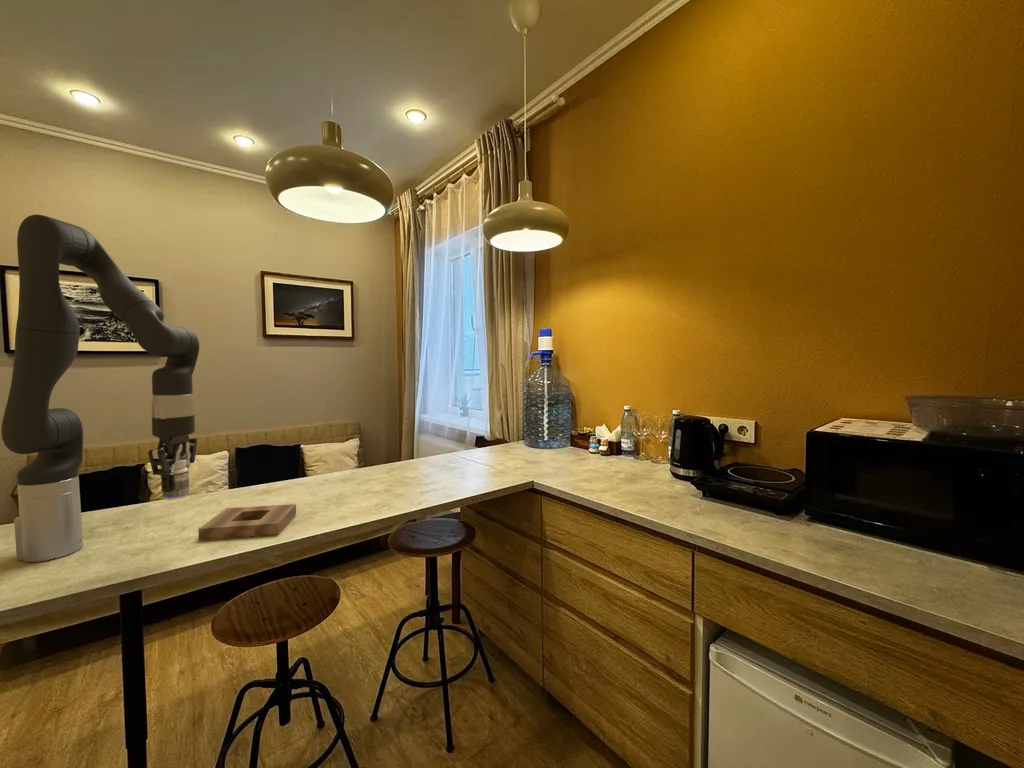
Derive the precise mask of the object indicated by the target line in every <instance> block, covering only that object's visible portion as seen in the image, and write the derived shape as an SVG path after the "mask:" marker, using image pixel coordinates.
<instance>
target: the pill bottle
mask: <svg viewBox="0 0 1024 768" xmlns="http://www.w3.org/2000/svg"><path fill="white" fill-rule="evenodd" d="M171 460H172V459H171ZM171 460H167V461H171ZM185 466H186V460H185V459H179V462H178V464H177V465H175V471H174V474H173V475H174V476H175V490H174V491H172V492H162V491H161V492H162V493H161V494H162V499H163V500H167V501H171V500H172V501H173V500H174V501H175V500H179V499H183V498H186V497H188V496H189V495H190V475H189V473H190V472H189V471H190V470H189V471H188V468H187V467H185ZM169 467H170V465H168V468H169Z"/></svg>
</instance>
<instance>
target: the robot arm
mask: <svg viewBox="0 0 1024 768" xmlns="http://www.w3.org/2000/svg"><path fill="white" fill-rule="evenodd" d="M17 230H18V231H17V235H16V239H17V240H16V243H17V246H16V247H17V249H16V251H17V263H18V279H19V280H18V281H19V287H18V291H19V292H18V307H17V308H18V310H17V317H16V318H17V319H16V325H15V333H14V335H15V336H14V357H13V359H14V360H13V367H12V374H11V375H12V376H11V381H10V386H9V392H8V397H7V401H6V406H5V408H4V413H3V417H2V423H1V430H0V433H1V440H2V441H3V442H2V443H3V444H4V446H5V447H6V448H7V450H9V452H13V454H17V455H29V454H36V453H37V455H36V457H35V458H34V459H33V460H32V461H31V462H30V463H29V464H27V465H26V466H24V467H22V468H21V469H20V470H19V471H18V472H17V473H16V483H17V496H18V497H17V501H18V514H19V516H16V517H15V518H14V519H13V524H14V525H13V526H14V540H15V541H14V542H15V551H16V553H15V554H16V561H23V562H24V563H25V562H26V563H38V562H44V561H49V560H50V559H51V560H54V558H55V559H59V558H61V557H64V556H68V555H71V554H74V553H75V552H77V551H79V550H81V549H82V548H83V547H84V542H83V541H84V540H83V525H82V523H83V522H82V509H81V507H82V506H81V505H82V504H81V493H80V478H79V477H80V476H79V475H80V473H79V469H80V467H81V465H82V464H83V457H84V456H83V455H84V450H83V449H84V430H83V428H84V427H83V424H82V421H81V419H80V417H79V416H78V414H77V413H76V412H74V411H73V410H70V409H68V408H62V407H55V408H50V400H51V397H52V396H51V395H52V394H53V393H52V392H53V390H54V388H55V386H56V385H57V383H58V381H59V380H60V379H61V378H62V377H63V375H64V374H65V373H66V371H68V369H69V368H70V366H71V365H72V364H73V362H74V361H75V359H76V357H77V355H78V351H79V343H80V341H79V340H80V331H81V330H80V329H81V326H80V323H79V322H80V321H79V320H78V318H77V316H76V314H75V312H74V310H73V309H72V307H71V305H70V303H69V302H68V300H67V299H66V296H65V295H64V293H63V291H62V289H61V284H60V265H64V266H69V267H74V268H77V269H78V270H80V271H81V272H83V273H84V274H85V275H87V276H88V277H89V278H91V279H92V280H93V282H94V283H95V284H96V285H97V289H98V294H99V296H100V299H101V301H102V302H103V304H104V305H105V306H106V308H108V309H109V310H110V311H111V312H112V313H113V314H114V315H115V316H116V317H117V318H118V319H120V320H121V321H122V322H123V323H124V324H125V325H126V326H128V329H129V330H130V332H131V334H132V336H133V337H134V339H135V340H136V342H137V344H138V346H140V347H141V349H142V350H144V351H145V352H147V353H148V354H150V355H152V356H153V357H154V356H155V357H159V358H166V361H165V364H164V365H163V367H160V368H156V369H155V370H154V371H153V372H152V374H151V390H152V392H151V393H152V396H151V402H150V403H151V404H150V405H151V406H150V409H151V434H152V436H153V437H155V438H158V440H159V441H158V444H157V448H154V449H149V450H148V459H149V462H150V463H149V464H150V467H151V472H152V475H153V476H160V478H161V480H160V481H161V483H160V485H161V492H172V491H174V490H175V476H174V475H173V474H174V471H175V465H177V464H178V462H179V459H185V460H186V466H185V467H187V468H188V471H190V470H189V468H190V467H191V465H192V464H194V463H195V462H196V454H197V443H198V438H196V437H191V438H190V437H189V436H190V435H192V434H194V433H195V432H196V424H195V423H196V421H195V419H196V416H195V414H196V412H195V399H194V394H193V390H194V389H193V373H194V371H195V368H196V364H197V362H198V358H199V355H200V354H199V353H200V341H199V337H198V335H197V334H196V332H194V331H193V330H192V329H191V328H189V327H185V326H177V325H167V324H165V323H163V321H164V318H165V316H164V312H163V310H162V309H161V308H160V307H159V306H158V304H157V303H155V301H153V300H152V299H151V298H150V297H148V296H147V295H146V294H145V293H144V292H143V291H142V290H141V289H139V288H138V287H137V286H136V285H135V284H134V283H133V282H132V281H131V280H130V279H129V277H128V276H127V275H126V274H125V273H124V272H123V271H122V269H121V268H120V267H119V266H118V264H117V262H115V260H114V259H113V258H112V257H111V256H110V254H109V253H108V252H107V250H106V249H105V248H104V246H103V245H102V244H101V242H100V241H99V240H98V239H97V238H96V236H94V234H92V233H91V232H90V231H89V230H87V229H85V228H84V227H81V226H79V225H76V224H74V223H73V224H72V223H69V222H66V221H63V220H61V219H57V218H55V217H51V216H47V215H43V214H32V215H28V216H26V217H25V218H24V219H23V220H22V221H21V223H20V225H19V227H18V229H17ZM167 460H171V461H167ZM168 465H170V467H169V468H168Z"/></svg>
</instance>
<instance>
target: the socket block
mask: <svg viewBox="0 0 1024 768" xmlns="http://www.w3.org/2000/svg"><path fill="white" fill-rule="evenodd" d="M295 514H296V515H297V504H295V503H294V504H291V503H290V504H278V505H277V504H274V505H262V506H261V505H260V506H259V505H258V506H244V507H243V506H242V507H226V508H225V509H223V510H222V511H220V512H219V513H218V514H216V515H215V516H214V517H213V518H211V519H209V521H207V522H205V523H204V524H203V525H201V527H199V528H198V541H199V540H201V541H211V540H210V539H215V540H224V539H223V538H228V539H237V538H236V537H242V538H251V537H250V536H256V537H264V536H263V535H269V536H279V535H280V534H281V532H282V531H283V530H284V529H286V527H287V525H288V524H289V523H290V522H291V521H292V520H293V519H294V518H295V516H296V515H295ZM292 518H293V519H292ZM291 519H292V520H291Z"/></svg>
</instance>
